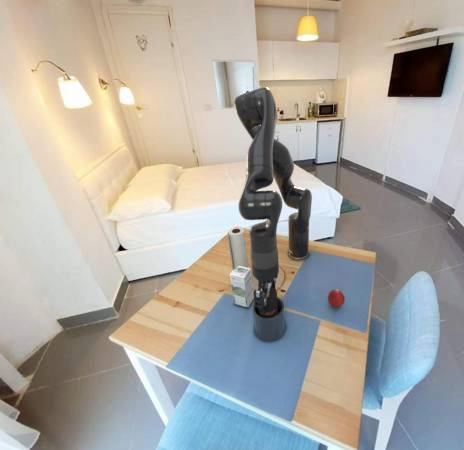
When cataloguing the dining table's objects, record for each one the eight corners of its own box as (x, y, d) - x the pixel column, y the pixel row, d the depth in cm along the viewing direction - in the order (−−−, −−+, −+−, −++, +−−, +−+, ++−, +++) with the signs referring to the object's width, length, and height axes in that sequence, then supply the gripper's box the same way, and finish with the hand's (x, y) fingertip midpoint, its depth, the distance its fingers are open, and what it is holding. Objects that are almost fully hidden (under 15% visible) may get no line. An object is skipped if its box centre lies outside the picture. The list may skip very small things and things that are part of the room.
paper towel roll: (246, 267, 111) (241, 225, 100) (250, 275, 106) (245, 232, 96) (230, 272, 108) (223, 229, 98) (234, 280, 103) (227, 236, 93)
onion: (333, 314, 87) (335, 297, 83) (324, 303, 91) (325, 287, 88) (346, 308, 89) (349, 291, 85) (336, 298, 94) (338, 281, 90)
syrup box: (254, 297, 95) (251, 267, 88) (247, 308, 90) (243, 277, 83) (241, 293, 97) (237, 264, 90) (233, 305, 92) (228, 274, 85)
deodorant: (276, 335, 79) (274, 301, 72) (258, 332, 80) (254, 298, 73) (280, 320, 84) (278, 286, 77) (263, 317, 85) (260, 284, 78)
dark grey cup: (261, 313, 88) (259, 292, 83) (287, 319, 86) (287, 298, 81) (250, 337, 80) (247, 315, 75) (279, 344, 77) (278, 322, 72)
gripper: (261, 243, 76) (264, 284, 84) (241, 273, 64) (247, 317, 72) (284, 247, 74) (285, 288, 82) (269, 278, 62) (272, 323, 70)
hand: (267, 302), depth 77 cm, fingers open, 8 cm apart
